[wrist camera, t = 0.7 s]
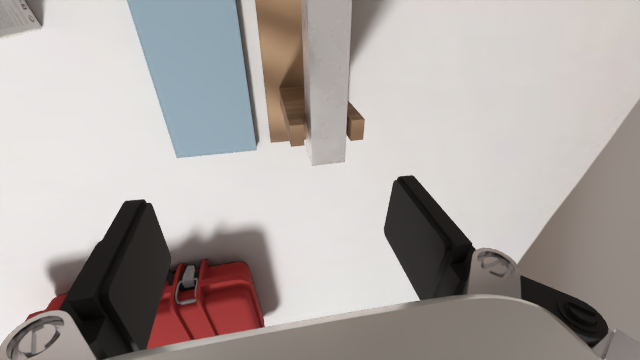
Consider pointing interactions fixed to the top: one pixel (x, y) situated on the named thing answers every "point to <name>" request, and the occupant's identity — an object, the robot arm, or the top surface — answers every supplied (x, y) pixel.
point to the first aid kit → (200, 304)
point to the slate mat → (197, 73)
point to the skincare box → (16, 19)
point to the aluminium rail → (326, 77)
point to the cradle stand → (289, 73)
